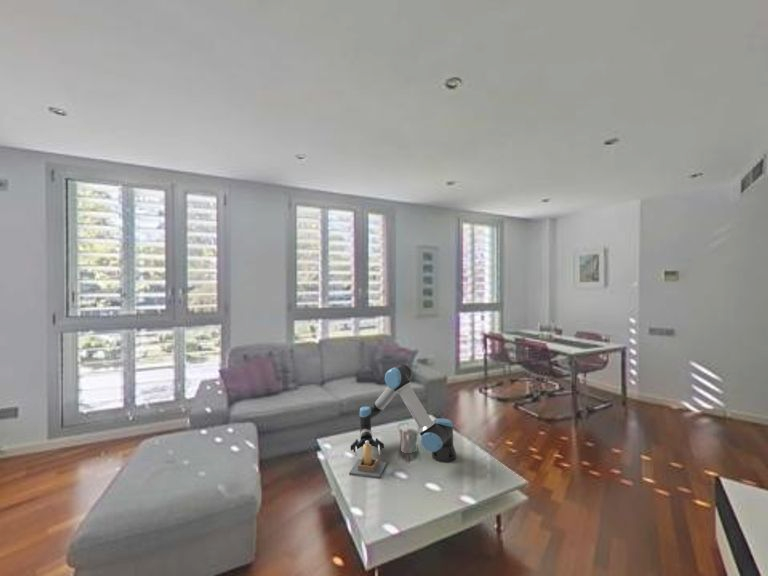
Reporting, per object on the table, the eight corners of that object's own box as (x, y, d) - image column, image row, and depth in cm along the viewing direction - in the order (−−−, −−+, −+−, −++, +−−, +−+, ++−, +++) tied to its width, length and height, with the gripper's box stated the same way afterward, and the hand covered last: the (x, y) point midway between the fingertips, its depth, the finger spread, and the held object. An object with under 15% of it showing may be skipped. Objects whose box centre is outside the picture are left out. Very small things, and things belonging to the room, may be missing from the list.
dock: (386, 464, 219) (386, 457, 219) (379, 478, 204) (379, 470, 204) (358, 461, 224) (358, 454, 224) (349, 474, 209) (349, 467, 209)
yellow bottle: (373, 467, 213) (373, 441, 213) (366, 470, 211) (365, 443, 210) (369, 464, 218) (368, 438, 217) (362, 466, 215) (361, 440, 214)
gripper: (385, 441, 234) (389, 457, 213) (347, 444, 232) (346, 460, 211) (385, 430, 234) (389, 445, 213) (346, 432, 232) (346, 448, 210)
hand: (368, 453), depth 212 cm, fingers open, 13 cm apart
